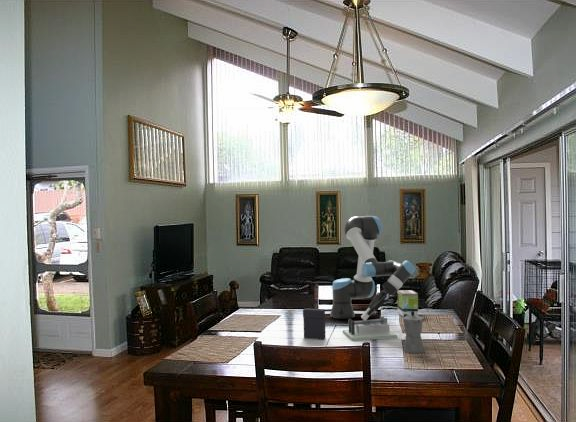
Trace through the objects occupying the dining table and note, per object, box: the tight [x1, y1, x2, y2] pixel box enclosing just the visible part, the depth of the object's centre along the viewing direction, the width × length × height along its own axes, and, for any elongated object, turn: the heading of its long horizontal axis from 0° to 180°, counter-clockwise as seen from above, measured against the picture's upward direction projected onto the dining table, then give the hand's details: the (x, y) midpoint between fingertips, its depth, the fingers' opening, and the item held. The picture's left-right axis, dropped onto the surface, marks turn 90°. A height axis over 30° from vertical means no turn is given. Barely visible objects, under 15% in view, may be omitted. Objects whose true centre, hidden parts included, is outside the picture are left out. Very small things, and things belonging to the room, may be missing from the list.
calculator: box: [302, 308, 327, 341], centre depth 253 cm, size 11×4×15 cm, turn 65°
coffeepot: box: [402, 311, 424, 354], centre depth 227 cm, size 15×9×18 cm, turn 13°
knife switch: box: [347, 315, 391, 336], centre depth 257 cm, size 19×12×8 cm, turn 99°
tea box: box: [396, 289, 419, 318], centre depth 309 cm, size 15×10×15 cm, turn 179°
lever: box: [353, 318, 383, 325], centre depth 257 cm, size 18×3×2 cm, turn 99°
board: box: [342, 329, 398, 342], centre depth 257 cm, size 24×18×2 cm
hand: (362, 318), depth 256 cm, fingers closed
